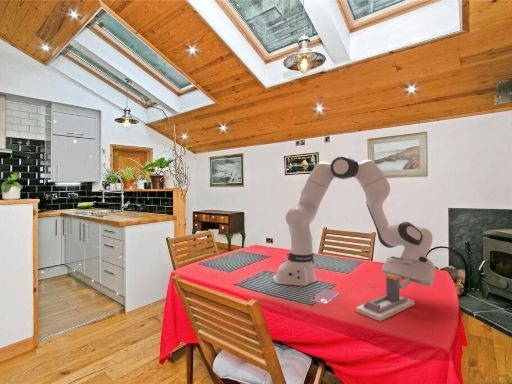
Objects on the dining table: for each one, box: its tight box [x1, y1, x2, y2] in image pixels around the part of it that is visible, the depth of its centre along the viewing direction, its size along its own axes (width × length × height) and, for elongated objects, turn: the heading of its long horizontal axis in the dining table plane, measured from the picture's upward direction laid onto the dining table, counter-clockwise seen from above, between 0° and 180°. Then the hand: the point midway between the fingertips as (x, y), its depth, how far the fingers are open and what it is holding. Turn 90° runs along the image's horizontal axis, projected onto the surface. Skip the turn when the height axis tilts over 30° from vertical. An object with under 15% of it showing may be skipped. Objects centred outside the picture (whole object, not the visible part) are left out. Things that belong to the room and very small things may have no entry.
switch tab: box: [385, 274, 400, 302], centre depth 112 cm, size 3×4×10 cm, turn 33°
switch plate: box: [355, 294, 416, 322], centre depth 109 cm, size 24×10×4 cm, turn 123°
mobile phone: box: [310, 288, 340, 305], centre depth 122 cm, size 8×1×15 cm
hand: (399, 287), depth 115 cm, fingers closed
